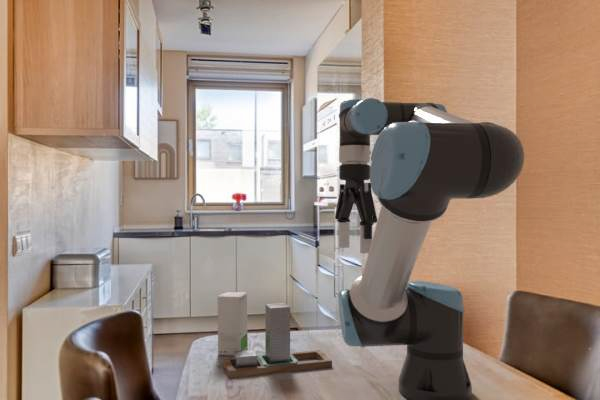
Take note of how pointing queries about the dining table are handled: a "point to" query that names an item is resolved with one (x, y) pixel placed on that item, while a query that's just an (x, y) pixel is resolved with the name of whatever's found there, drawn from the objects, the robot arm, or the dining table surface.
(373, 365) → the dining table surface
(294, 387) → the dining table surface
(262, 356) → the wooden holder tray
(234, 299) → the skincare box
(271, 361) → the brushed grey block
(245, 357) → the grey concrete cube
